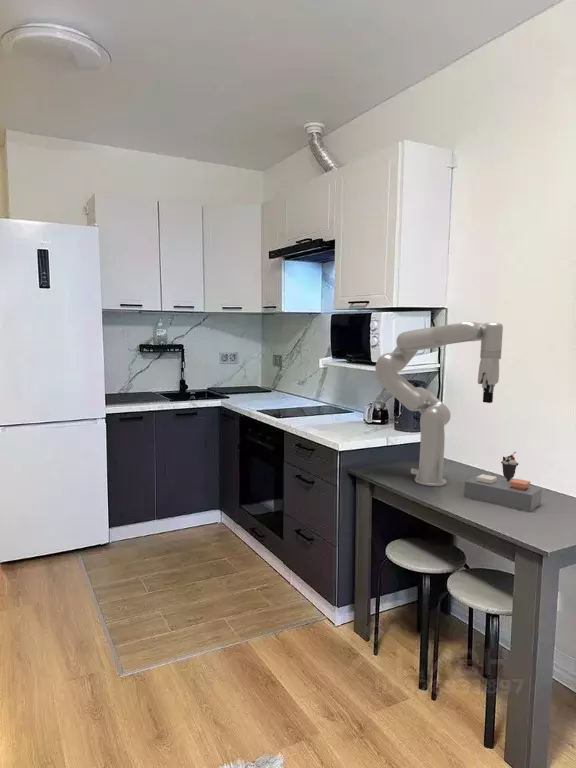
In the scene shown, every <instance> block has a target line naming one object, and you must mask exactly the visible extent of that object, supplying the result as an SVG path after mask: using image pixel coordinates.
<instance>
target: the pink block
mask: <svg viewBox="0 0 576 768" xmlns="http://www.w3.org/2000/svg"><path fill="white" fill-rule="evenodd" d="M509 485H510V486H512V488H513V489H518V490H523V491H525V490H526V489H527V487H528V486H531V480H525V479H521V478H520V479H519V478H514V477H513V478H512V479H510V481H509Z"/></svg>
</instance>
